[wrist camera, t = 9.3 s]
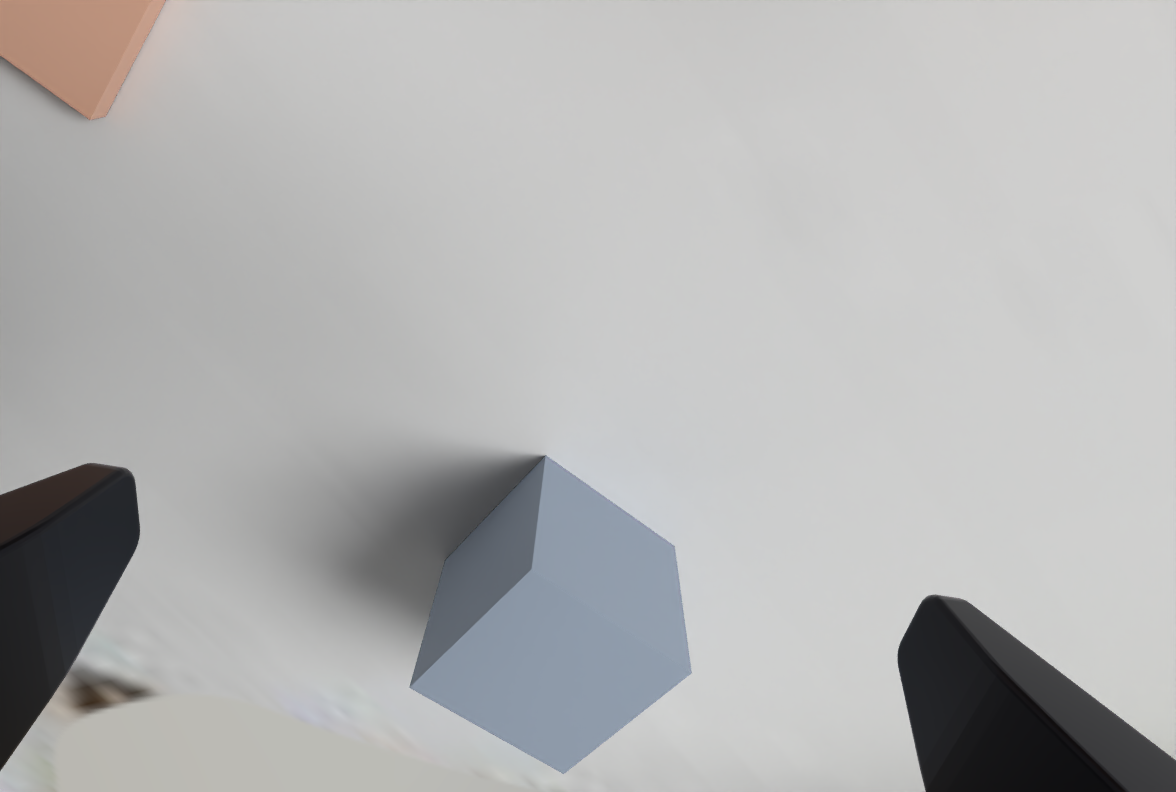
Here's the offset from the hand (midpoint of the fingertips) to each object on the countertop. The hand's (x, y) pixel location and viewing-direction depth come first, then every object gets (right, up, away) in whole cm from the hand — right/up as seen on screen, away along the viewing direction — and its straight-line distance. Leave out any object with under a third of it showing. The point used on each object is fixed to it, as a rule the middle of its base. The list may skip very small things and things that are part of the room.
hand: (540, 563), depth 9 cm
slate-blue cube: (0, -3, +15) cm, 15 cm away
